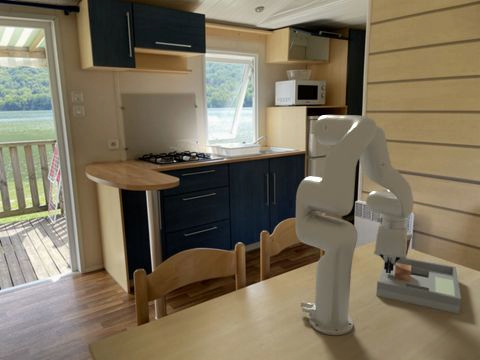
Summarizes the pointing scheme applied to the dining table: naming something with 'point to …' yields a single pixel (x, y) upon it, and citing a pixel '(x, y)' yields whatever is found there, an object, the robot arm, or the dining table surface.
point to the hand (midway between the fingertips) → (388, 271)
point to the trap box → (423, 285)
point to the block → (402, 272)
